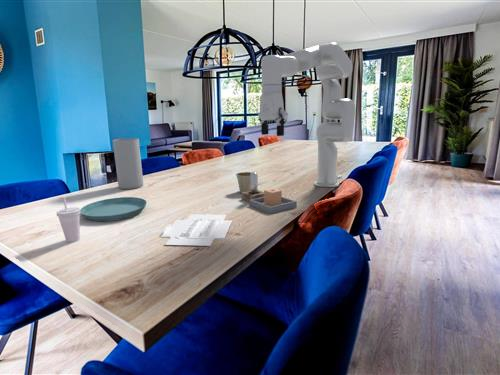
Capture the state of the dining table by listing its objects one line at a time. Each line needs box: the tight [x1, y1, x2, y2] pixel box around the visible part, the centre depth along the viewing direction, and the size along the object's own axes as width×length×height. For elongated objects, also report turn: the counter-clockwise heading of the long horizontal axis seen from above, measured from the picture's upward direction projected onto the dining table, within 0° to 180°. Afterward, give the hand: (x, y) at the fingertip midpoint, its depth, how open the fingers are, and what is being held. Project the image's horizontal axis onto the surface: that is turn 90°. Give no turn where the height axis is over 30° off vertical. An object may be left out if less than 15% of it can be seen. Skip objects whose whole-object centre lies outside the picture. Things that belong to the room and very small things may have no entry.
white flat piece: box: [160, 213, 233, 247], centre depth 106 cm, size 20×28×4 cm
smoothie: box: [56, 196, 81, 243], centre depth 97 cm, size 6×6×14 cm
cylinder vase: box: [112, 137, 144, 190], centre depth 165 cm, size 12×12×25 cm
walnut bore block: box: [241, 190, 264, 203], centre depth 139 cm, size 8×8×3 cm
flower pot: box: [235, 171, 252, 193], centre depth 152 cm, size 9×9×9 cm
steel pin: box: [251, 171, 259, 195], centre depth 138 cm, size 3×3×12 cm
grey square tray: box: [249, 196, 298, 214], centre depth 129 cm, size 14×14×2 cm
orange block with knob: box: [263, 188, 283, 207], centre depth 128 cm, size 5×5×6 cm
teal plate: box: [79, 196, 147, 222], centre depth 125 cm, size 24×24×3 cm
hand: (272, 135), depth 126 cm, fingers open, 9 cm apart
